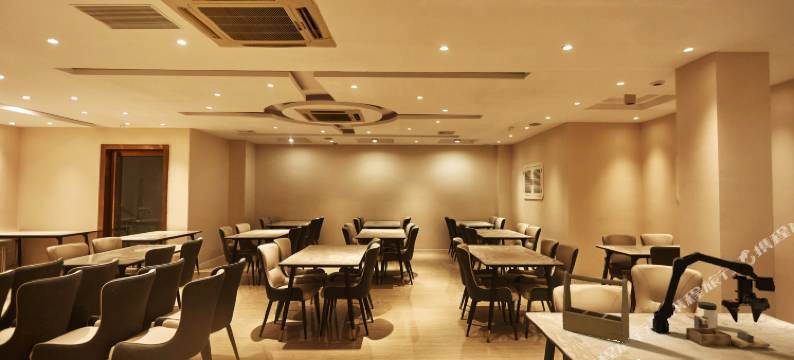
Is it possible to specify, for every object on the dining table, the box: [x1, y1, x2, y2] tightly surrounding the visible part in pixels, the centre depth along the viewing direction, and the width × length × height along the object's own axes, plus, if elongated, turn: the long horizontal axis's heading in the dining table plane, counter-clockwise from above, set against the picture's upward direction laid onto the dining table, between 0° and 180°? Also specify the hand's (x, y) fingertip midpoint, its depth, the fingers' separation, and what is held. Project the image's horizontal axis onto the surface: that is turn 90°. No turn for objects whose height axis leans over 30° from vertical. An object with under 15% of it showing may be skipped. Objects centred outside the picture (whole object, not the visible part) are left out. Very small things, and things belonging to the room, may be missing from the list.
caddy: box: [561, 270, 630, 344], centre depth 204 cm, size 29×11×30 cm, turn 47°
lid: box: [731, 331, 771, 348], centre depth 190 cm, size 14×10×5 cm
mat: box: [731, 343, 770, 350], centre depth 190 cm, size 13×10×1 cm
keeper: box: [693, 316, 708, 328], centre depth 204 cm, size 5×3×9 cm, turn 90°
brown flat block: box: [685, 327, 732, 347], centre depth 194 cm, size 14×10×5 cm
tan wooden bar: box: [685, 312, 709, 324], centre depth 207 cm, size 2×13×2 cm, turn 0°
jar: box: [696, 301, 719, 329], centre depth 218 cm, size 9×8×12 cm
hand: (745, 322), depth 190 cm, fingers open, 9 cm apart
